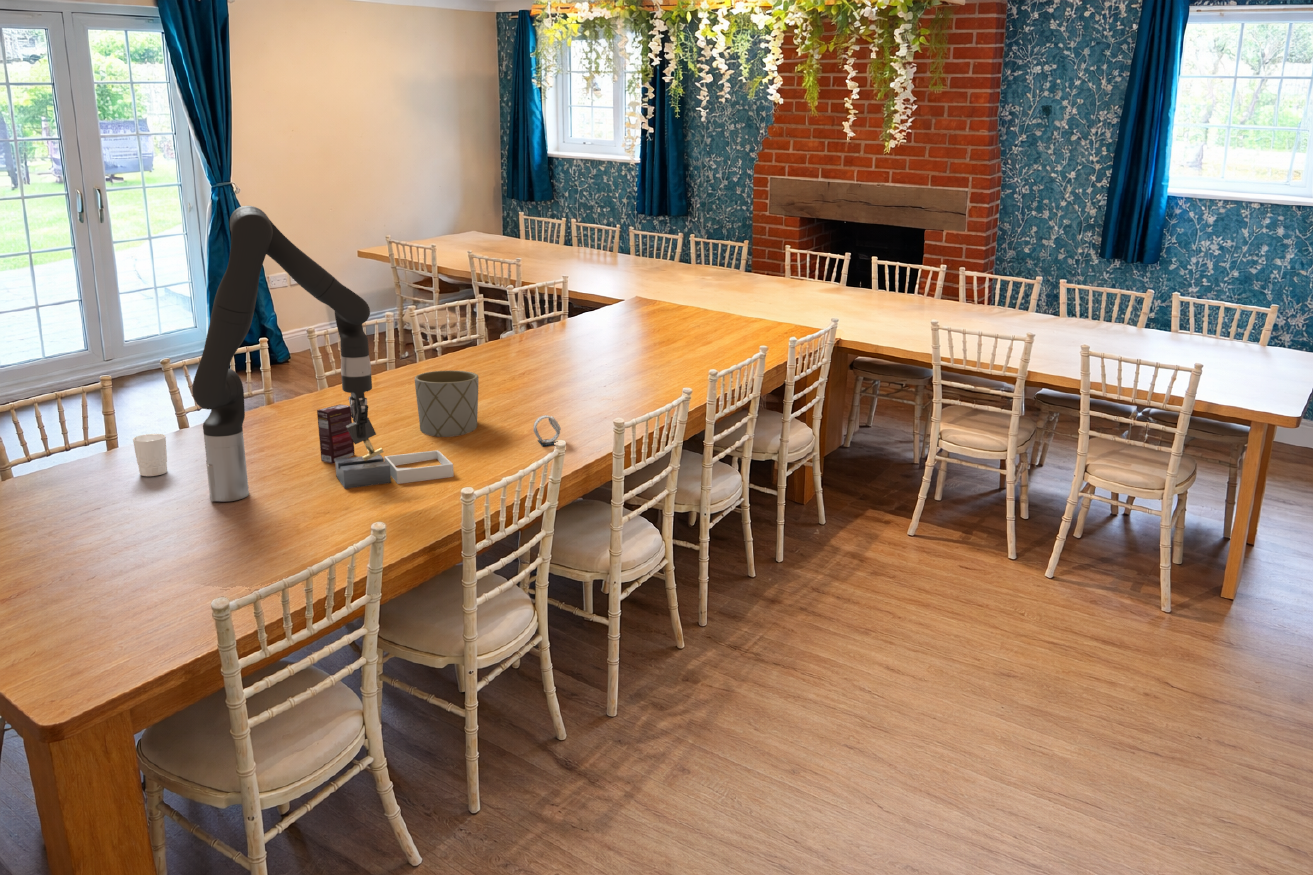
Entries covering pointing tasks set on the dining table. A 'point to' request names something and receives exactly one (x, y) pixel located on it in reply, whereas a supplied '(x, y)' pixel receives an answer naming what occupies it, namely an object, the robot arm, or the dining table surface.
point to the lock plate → (362, 471)
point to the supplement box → (335, 433)
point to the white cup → (151, 454)
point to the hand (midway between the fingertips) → (360, 436)
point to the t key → (369, 433)
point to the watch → (554, 424)
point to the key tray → (422, 472)
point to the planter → (447, 402)
